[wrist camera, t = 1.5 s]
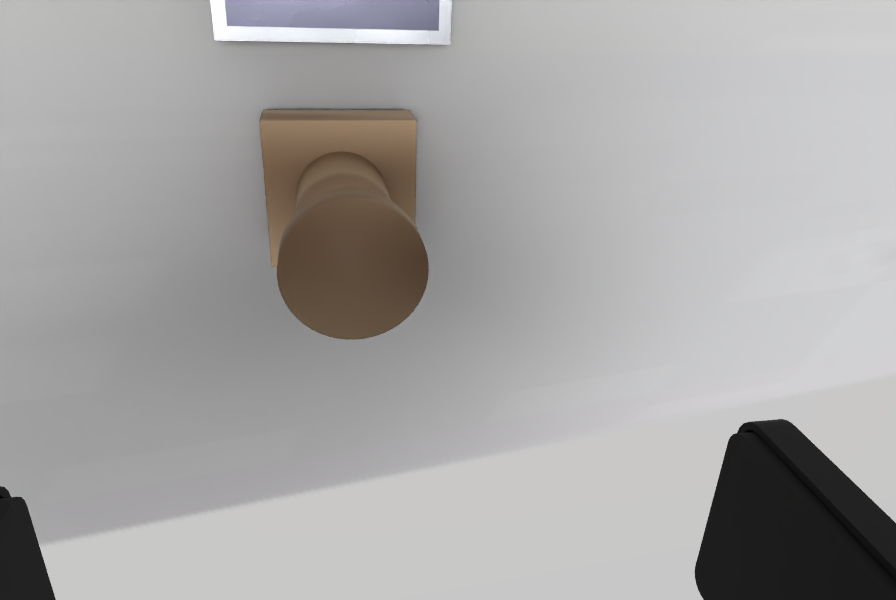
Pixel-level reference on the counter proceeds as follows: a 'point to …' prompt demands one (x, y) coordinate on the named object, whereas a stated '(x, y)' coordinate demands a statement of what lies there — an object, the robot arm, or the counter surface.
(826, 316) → the counter surface
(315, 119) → the stamp
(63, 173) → the counter surface
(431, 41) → the ink pad
